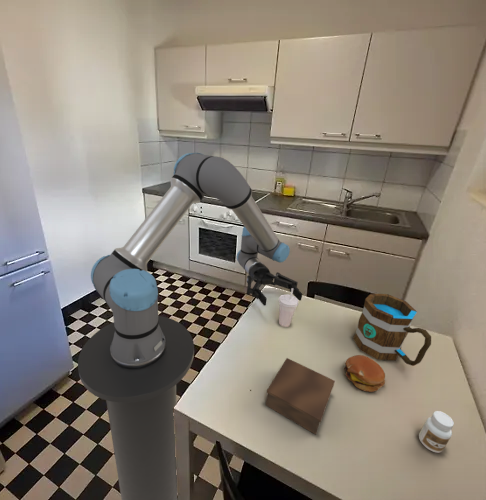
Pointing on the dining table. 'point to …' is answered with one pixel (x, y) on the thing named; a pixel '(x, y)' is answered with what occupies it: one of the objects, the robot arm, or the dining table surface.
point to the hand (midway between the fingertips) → (283, 299)
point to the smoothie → (287, 308)
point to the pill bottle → (436, 431)
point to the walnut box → (300, 394)
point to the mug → (387, 328)
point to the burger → (364, 373)
